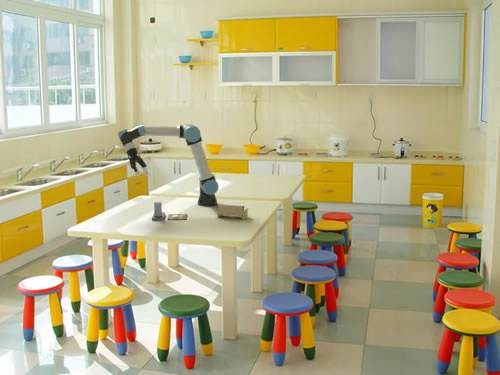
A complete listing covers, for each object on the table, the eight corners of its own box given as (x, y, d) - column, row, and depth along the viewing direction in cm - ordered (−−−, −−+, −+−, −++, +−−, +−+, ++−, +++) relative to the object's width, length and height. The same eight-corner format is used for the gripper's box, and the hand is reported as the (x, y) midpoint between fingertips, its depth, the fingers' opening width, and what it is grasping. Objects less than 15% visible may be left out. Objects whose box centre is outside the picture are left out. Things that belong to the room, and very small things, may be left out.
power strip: (154, 216, 464) (153, 211, 464) (165, 216, 465) (165, 211, 464) (152, 222, 447) (151, 216, 446) (163, 222, 447) (163, 216, 446)
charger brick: (162, 218, 454) (161, 201, 452) (161, 219, 450) (161, 203, 448) (155, 218, 454) (154, 202, 452) (154, 219, 449) (154, 203, 447)
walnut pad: (187, 215, 465) (186, 213, 464) (186, 220, 449) (186, 218, 449) (168, 215, 464) (168, 214, 464) (167, 220, 448) (167, 219, 448)
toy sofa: (248, 217, 457) (248, 203, 456) (244, 220, 449) (244, 205, 448) (221, 215, 464) (220, 201, 462) (216, 218, 456) (216, 204, 454)
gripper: (135, 152, 481) (147, 177, 479) (118, 151, 457) (130, 178, 455) (143, 147, 479) (155, 173, 476) (126, 146, 455) (139, 173, 453)
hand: (143, 175), depth 466 cm, fingers open, 13 cm apart
